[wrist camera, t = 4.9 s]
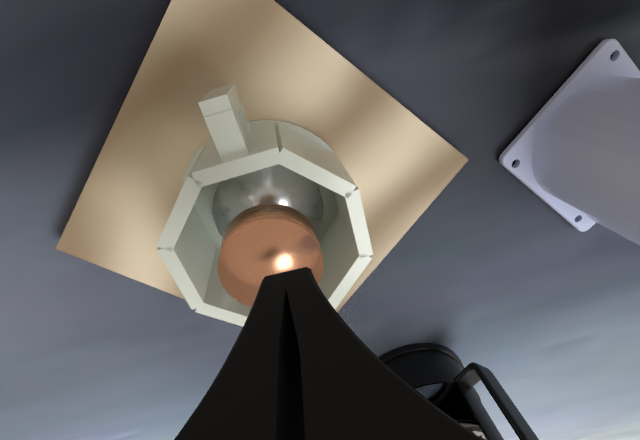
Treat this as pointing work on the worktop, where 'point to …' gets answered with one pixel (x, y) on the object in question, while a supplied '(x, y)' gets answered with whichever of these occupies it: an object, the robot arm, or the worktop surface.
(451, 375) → the french press
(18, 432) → the worktop surface
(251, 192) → the plunger
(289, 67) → the serving board
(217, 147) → the faceted mug
